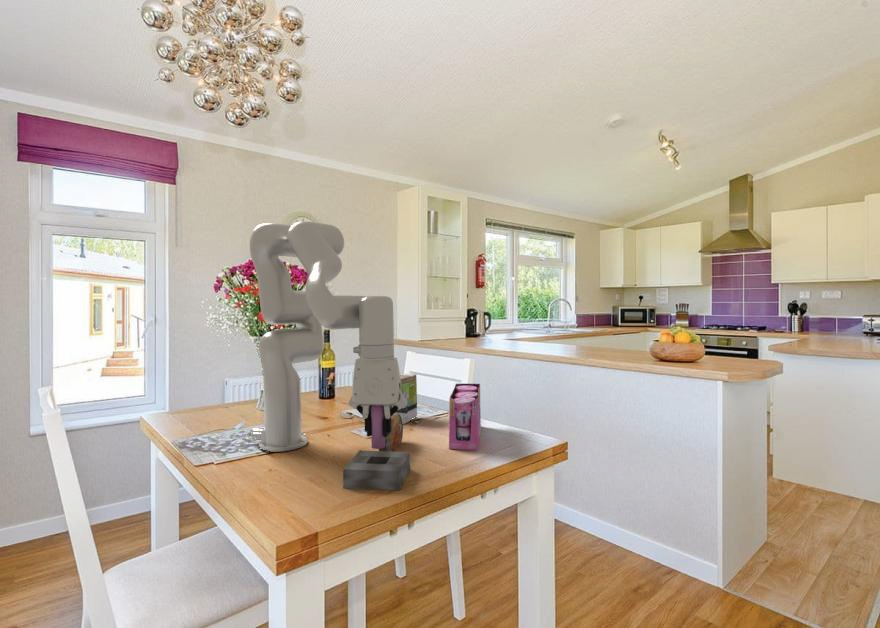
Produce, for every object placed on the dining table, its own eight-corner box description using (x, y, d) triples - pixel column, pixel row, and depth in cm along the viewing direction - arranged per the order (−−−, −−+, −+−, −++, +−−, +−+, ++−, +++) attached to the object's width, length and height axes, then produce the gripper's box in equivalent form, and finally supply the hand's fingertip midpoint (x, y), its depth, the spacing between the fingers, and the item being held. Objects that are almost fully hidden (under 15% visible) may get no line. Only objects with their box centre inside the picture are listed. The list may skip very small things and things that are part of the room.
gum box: (478, 452, 118) (478, 400, 118) (447, 451, 119) (447, 399, 119) (481, 426, 142) (480, 383, 141) (455, 426, 143) (455, 383, 142)
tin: (387, 459, 114) (386, 425, 114) (375, 458, 114) (374, 424, 114) (404, 440, 128) (403, 410, 128) (393, 440, 129) (393, 410, 129)
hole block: (343, 487, 96) (342, 469, 96) (360, 467, 108) (360, 450, 108) (399, 490, 95) (398, 471, 95) (410, 469, 107) (409, 452, 106)
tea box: (418, 417, 154) (417, 373, 153) (403, 425, 144) (403, 378, 144) (379, 413, 160) (379, 371, 159) (363, 420, 151) (362, 375, 150)
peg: (369, 448, 100) (369, 403, 99) (373, 444, 103) (372, 400, 102) (383, 449, 99) (382, 403, 99) (386, 444, 102) (385, 400, 102)
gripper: (335, 354, 98) (336, 439, 98) (410, 354, 96) (411, 441, 96) (346, 350, 105) (348, 429, 106) (416, 350, 103) (417, 431, 104)
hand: (378, 434), depth 101 cm, fingers closed on peg, 3 cm apart
